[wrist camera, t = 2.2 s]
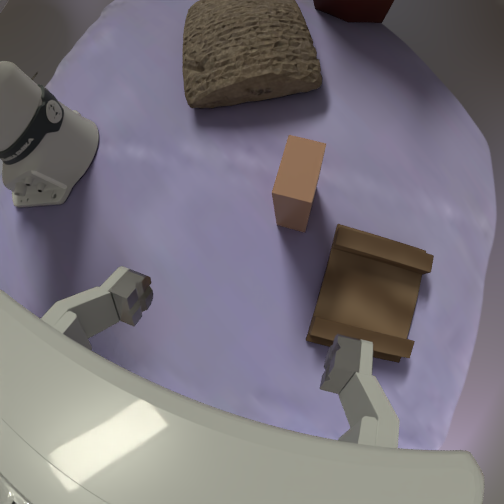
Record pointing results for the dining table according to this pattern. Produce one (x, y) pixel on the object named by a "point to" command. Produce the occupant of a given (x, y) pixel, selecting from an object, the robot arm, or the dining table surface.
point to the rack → (369, 292)
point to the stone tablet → (246, 52)
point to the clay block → (297, 182)
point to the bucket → (355, 9)
